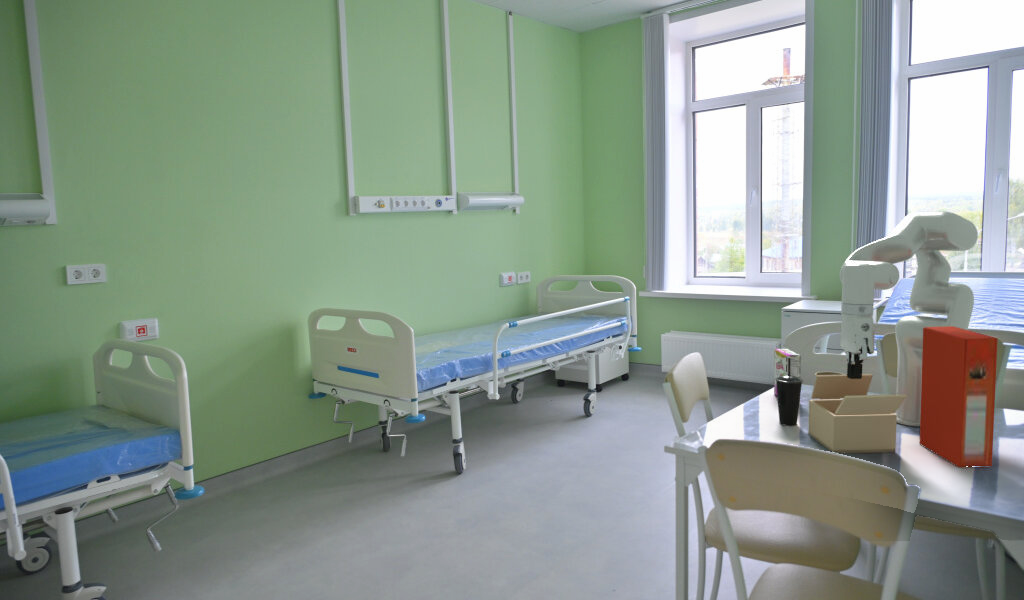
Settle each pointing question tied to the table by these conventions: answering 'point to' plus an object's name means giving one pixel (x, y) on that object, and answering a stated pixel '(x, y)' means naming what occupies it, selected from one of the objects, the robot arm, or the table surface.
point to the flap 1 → (840, 386)
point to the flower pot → (828, 374)
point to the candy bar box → (785, 364)
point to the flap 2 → (870, 404)
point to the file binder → (958, 395)
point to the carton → (851, 429)
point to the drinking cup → (788, 397)
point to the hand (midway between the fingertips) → (854, 378)
